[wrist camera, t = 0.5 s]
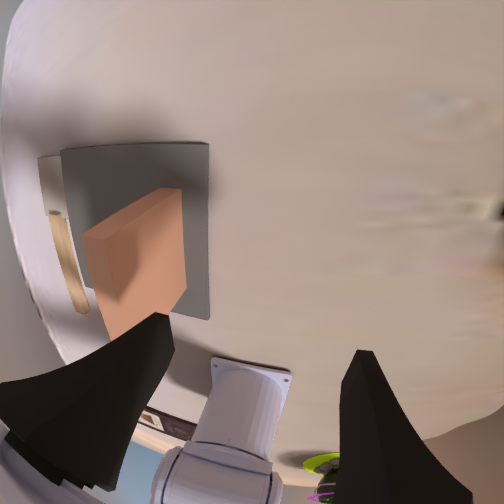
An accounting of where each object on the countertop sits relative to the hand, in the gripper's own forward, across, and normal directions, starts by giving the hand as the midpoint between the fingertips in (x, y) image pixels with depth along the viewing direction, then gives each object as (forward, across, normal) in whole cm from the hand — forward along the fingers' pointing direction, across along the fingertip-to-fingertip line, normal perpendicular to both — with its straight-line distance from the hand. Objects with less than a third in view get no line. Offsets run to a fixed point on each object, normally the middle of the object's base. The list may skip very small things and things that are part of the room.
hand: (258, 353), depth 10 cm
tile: (+9, +8, +1) cm, 12 cm away
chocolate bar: (+11, +16, +36) cm, 41 cm away
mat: (+10, +12, +1) cm, 16 cm away
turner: (+10, +22, +3) cm, 24 cm away
